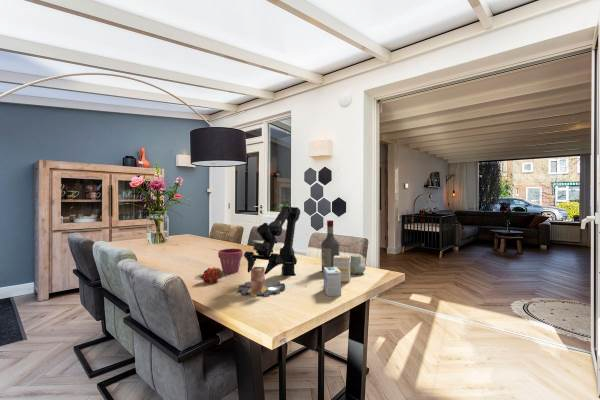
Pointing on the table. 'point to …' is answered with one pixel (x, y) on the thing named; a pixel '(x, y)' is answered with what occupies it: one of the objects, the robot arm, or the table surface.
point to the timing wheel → (269, 289)
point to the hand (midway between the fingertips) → (256, 273)
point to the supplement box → (343, 267)
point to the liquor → (329, 247)
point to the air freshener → (356, 265)
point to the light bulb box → (332, 281)
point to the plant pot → (230, 260)
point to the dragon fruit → (211, 275)
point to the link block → (257, 278)
